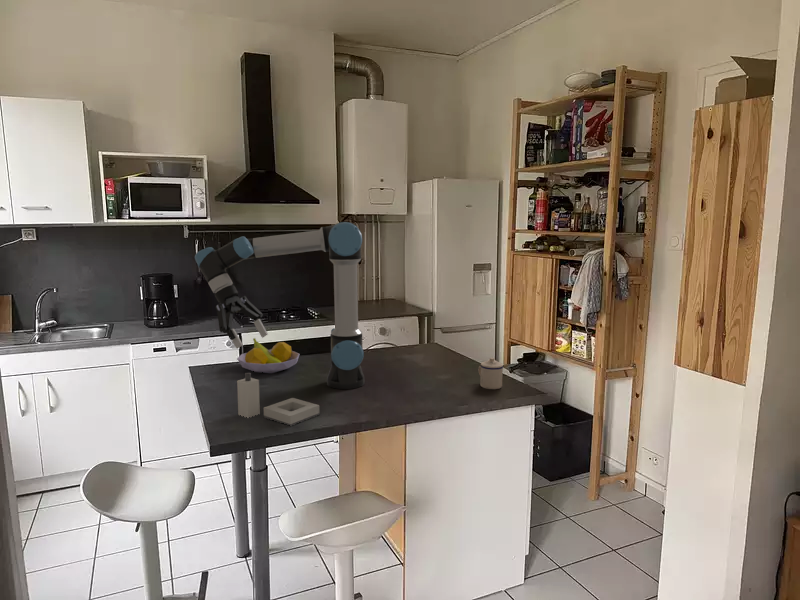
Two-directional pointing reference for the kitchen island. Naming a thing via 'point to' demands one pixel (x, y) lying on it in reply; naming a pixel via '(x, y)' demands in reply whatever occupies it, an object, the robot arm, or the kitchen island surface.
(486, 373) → the teacup with lid
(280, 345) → the fruit bowl
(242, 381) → the plug
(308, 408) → the socket
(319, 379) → the kitchen island surface
